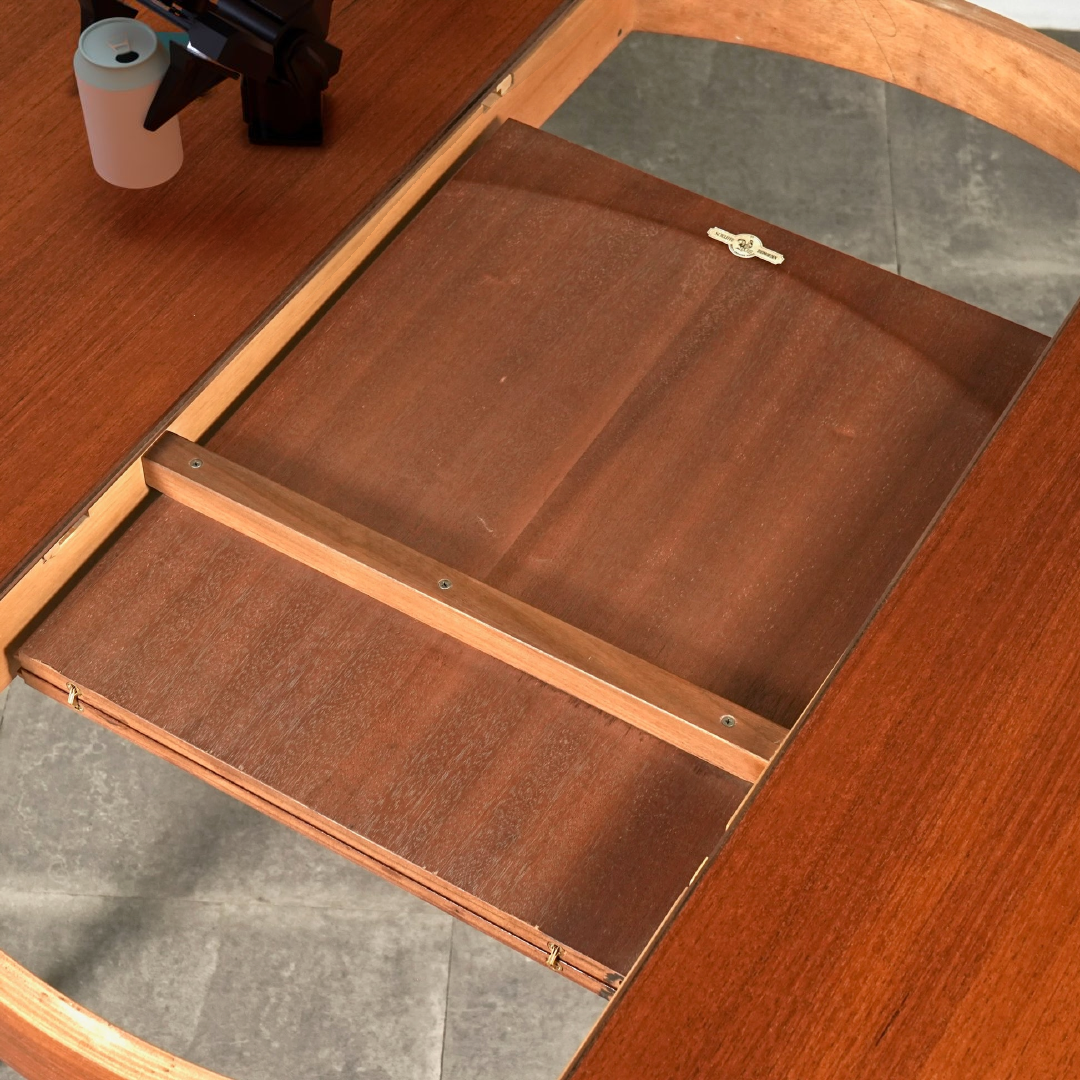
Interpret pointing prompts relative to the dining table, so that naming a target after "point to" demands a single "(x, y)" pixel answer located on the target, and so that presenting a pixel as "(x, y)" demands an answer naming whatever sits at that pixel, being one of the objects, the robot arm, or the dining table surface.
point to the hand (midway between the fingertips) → (114, 107)
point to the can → (125, 103)
